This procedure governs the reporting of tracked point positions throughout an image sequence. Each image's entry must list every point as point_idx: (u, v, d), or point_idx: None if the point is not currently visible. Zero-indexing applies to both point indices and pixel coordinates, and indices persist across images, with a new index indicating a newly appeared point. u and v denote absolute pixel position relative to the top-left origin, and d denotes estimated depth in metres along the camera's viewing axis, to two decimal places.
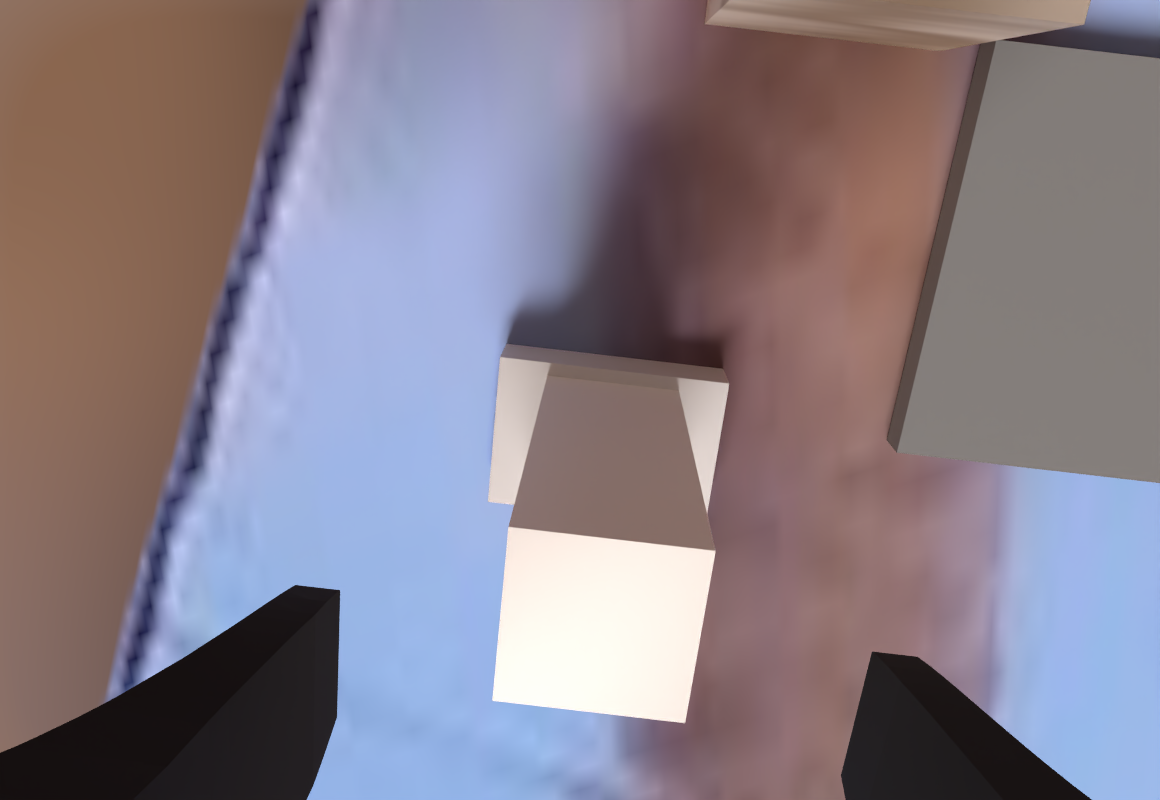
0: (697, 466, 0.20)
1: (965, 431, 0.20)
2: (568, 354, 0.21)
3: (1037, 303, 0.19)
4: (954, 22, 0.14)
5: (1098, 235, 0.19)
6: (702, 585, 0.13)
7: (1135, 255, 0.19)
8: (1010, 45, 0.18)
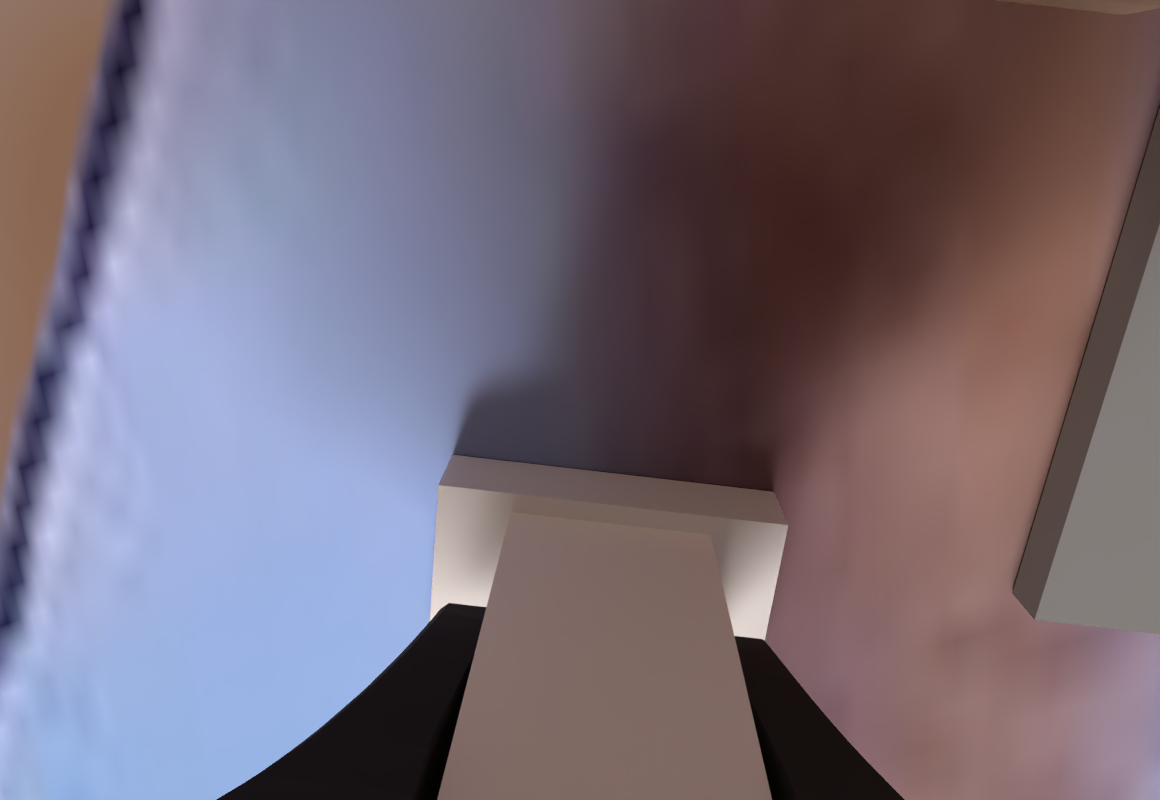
0: None
1: (1140, 591, 0.13)
2: (544, 473, 0.14)
3: None
4: None
5: None
6: None
7: None
8: None
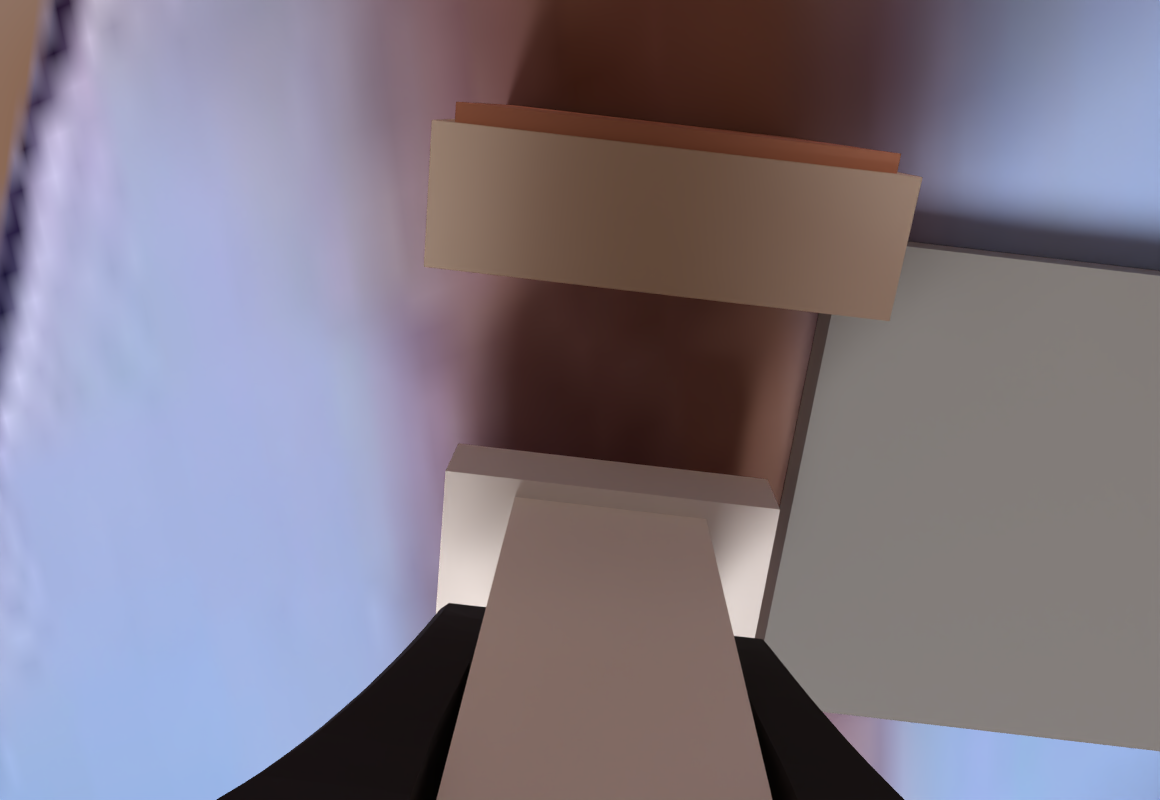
0: (732, 623, 0.14)
1: (832, 682, 0.17)
2: (546, 461, 0.14)
3: (911, 541, 0.16)
4: None
5: (982, 465, 0.15)
6: None
7: (1029, 488, 0.15)
8: None
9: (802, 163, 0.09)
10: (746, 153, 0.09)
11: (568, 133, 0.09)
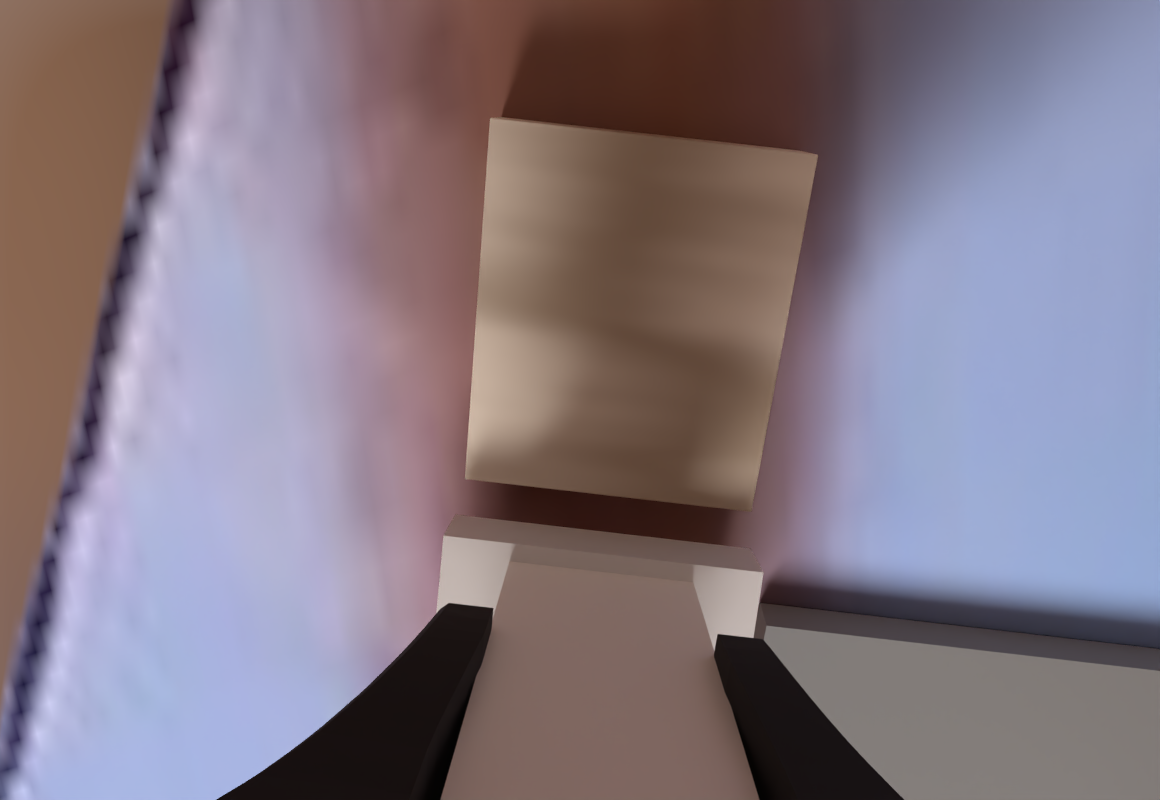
0: None
1: None
2: (539, 529, 0.15)
3: None
4: (712, 234, 0.14)
5: None
6: None
7: None
8: (781, 632, 0.16)
9: None
10: None
11: None
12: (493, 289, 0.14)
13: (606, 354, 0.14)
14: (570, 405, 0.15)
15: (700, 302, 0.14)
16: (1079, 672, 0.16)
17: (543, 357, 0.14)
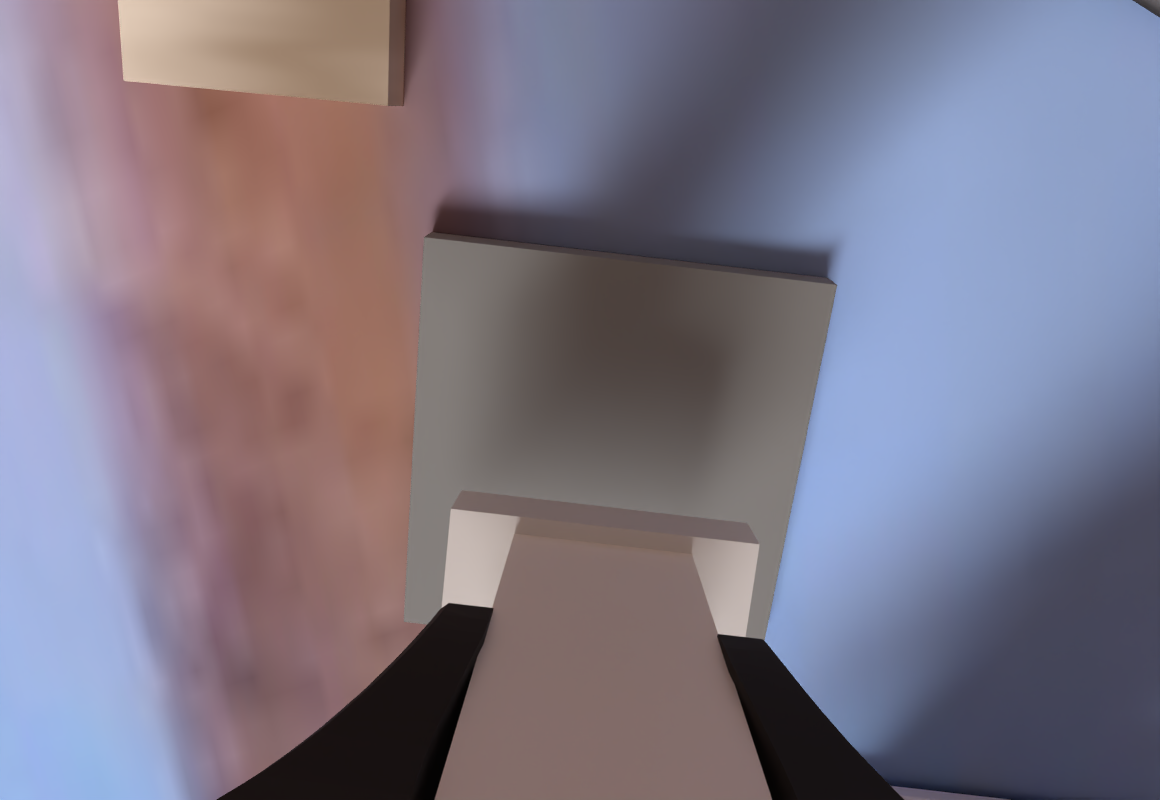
0: None
1: None
2: (543, 504, 0.15)
3: (512, 483, 0.19)
4: None
5: (559, 420, 0.19)
6: None
7: (599, 439, 0.19)
8: (437, 243, 0.18)
9: None
10: None
11: None
12: None
13: None
14: None
15: None
16: (716, 282, 0.18)
17: None
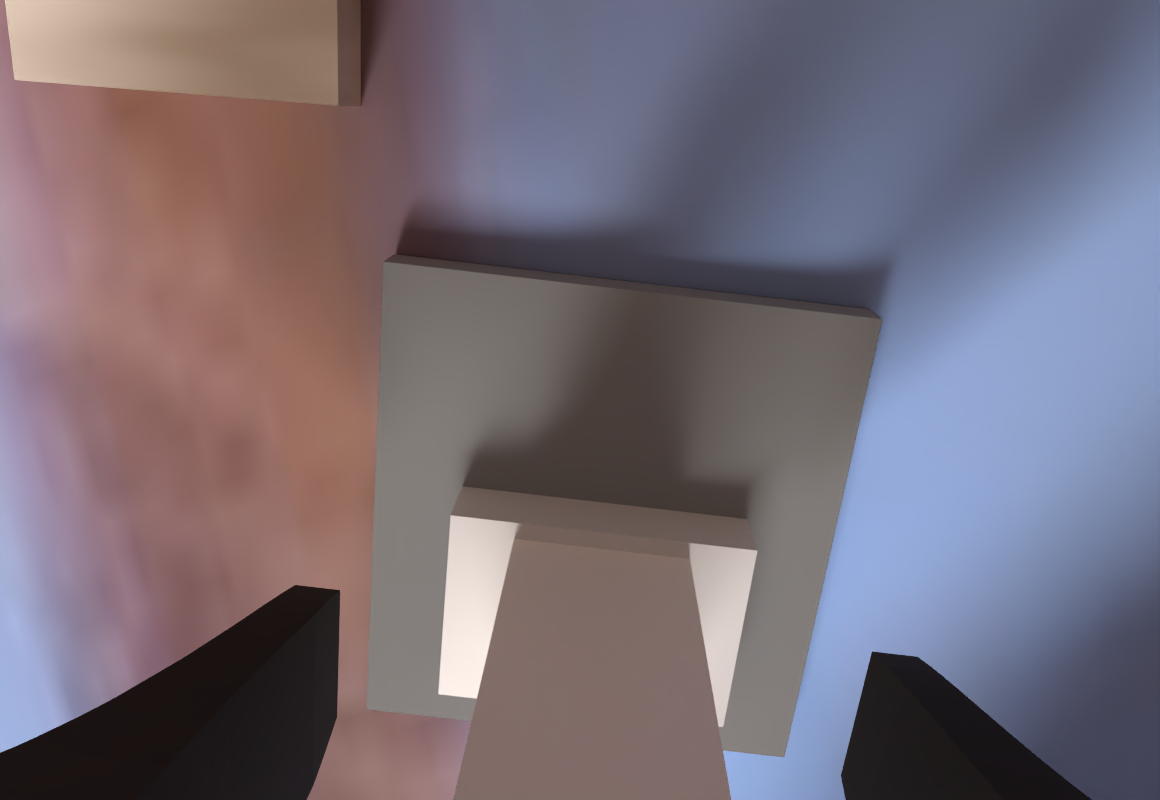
0: (714, 652, 0.15)
1: None
2: (543, 503, 0.16)
3: None
4: None
5: (548, 478, 0.16)
6: None
7: (595, 500, 0.16)
8: (399, 268, 0.15)
9: None
10: None
11: None
12: None
13: None
14: None
15: None
16: (736, 316, 0.15)
17: None
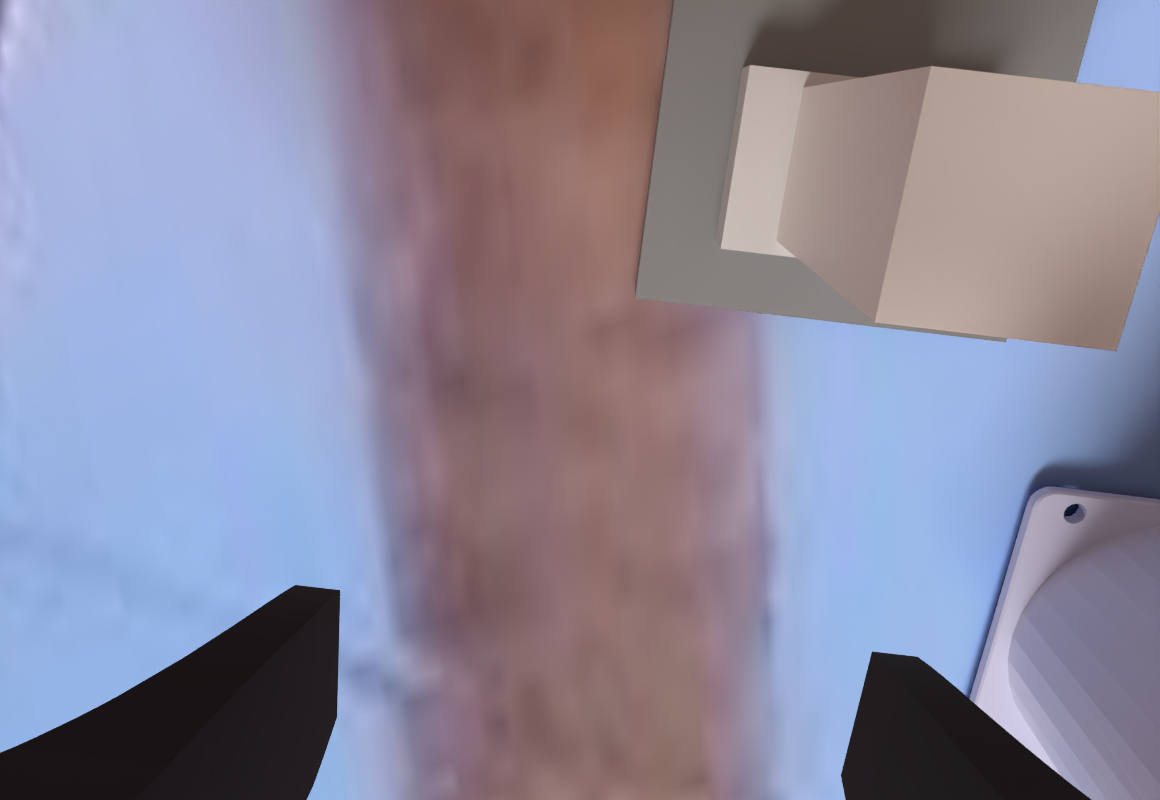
0: None
1: (703, 275, 0.20)
2: None
3: None
4: None
5: (819, 59, 0.18)
6: None
7: None
8: None
9: None
10: None
11: None
12: None
13: None
14: None
15: None
16: None
17: None
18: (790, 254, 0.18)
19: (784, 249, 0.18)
